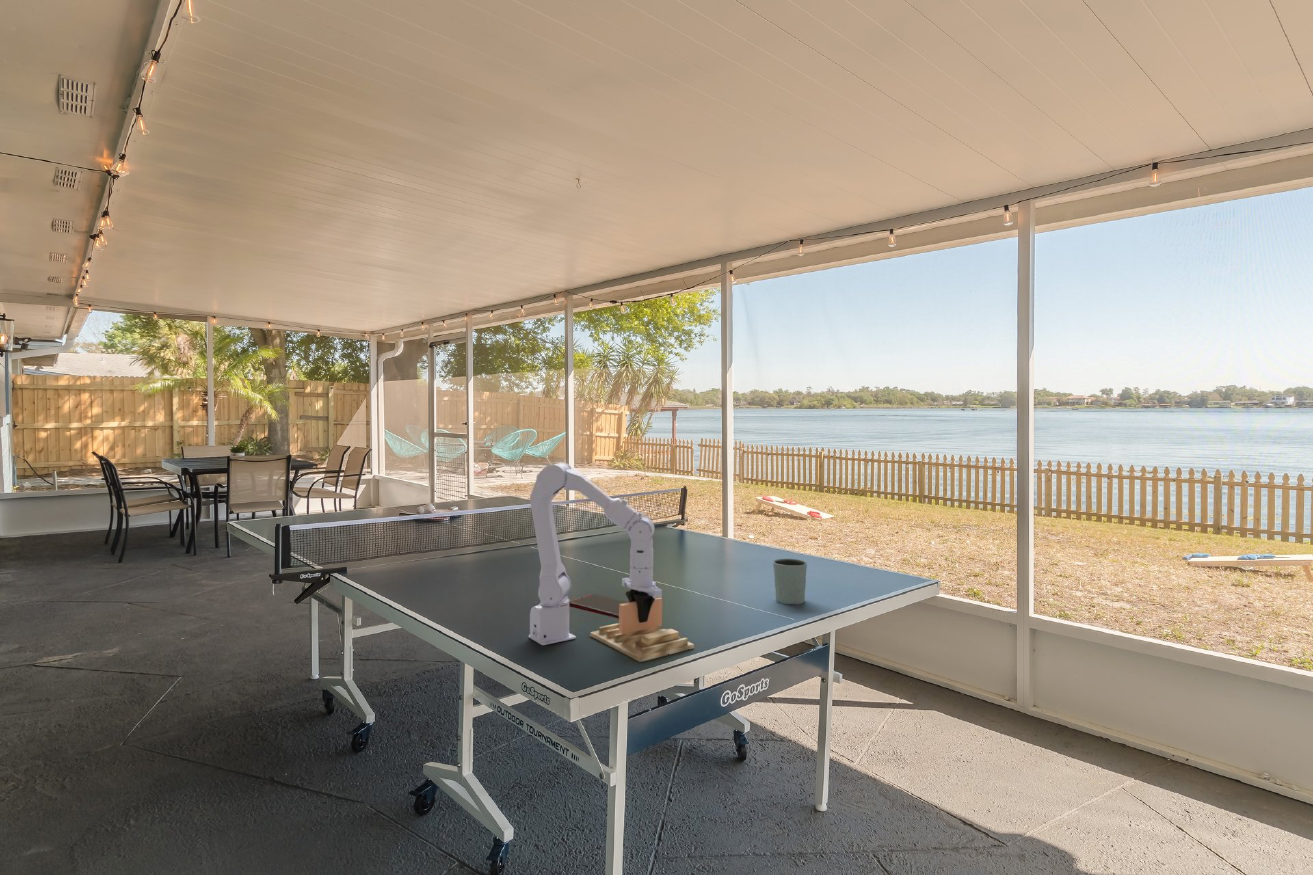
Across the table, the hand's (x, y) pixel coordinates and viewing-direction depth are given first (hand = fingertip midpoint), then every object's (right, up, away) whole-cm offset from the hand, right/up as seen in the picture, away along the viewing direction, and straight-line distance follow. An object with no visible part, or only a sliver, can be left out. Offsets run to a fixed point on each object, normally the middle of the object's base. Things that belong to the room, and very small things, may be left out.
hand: (640, 620), depth 169 cm
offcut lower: (+4, -5, -6) cm, 8 cm away
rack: (-1, -5, +1) cm, 5 cm away
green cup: (+45, -5, +39) cm, 59 cm away
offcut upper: (+5, -3, -5) cm, 8 cm away
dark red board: (-9, -5, +29) cm, 31 cm away
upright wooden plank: (0, -2, 0) cm, 2 cm away
